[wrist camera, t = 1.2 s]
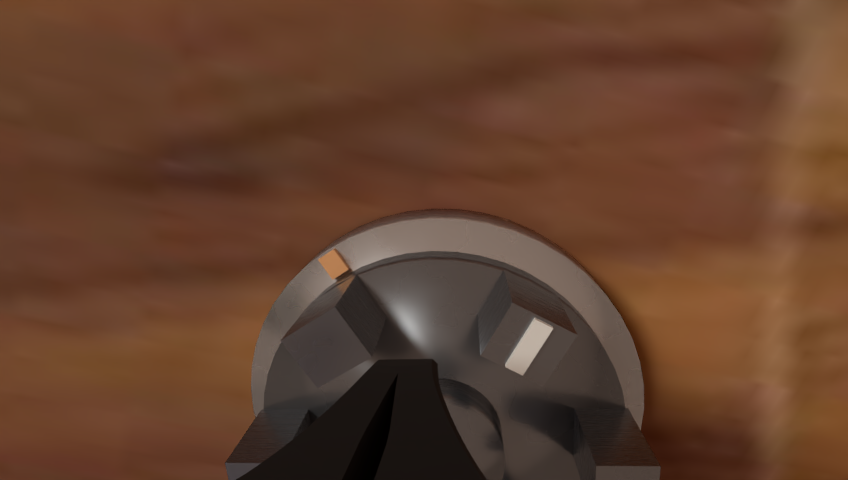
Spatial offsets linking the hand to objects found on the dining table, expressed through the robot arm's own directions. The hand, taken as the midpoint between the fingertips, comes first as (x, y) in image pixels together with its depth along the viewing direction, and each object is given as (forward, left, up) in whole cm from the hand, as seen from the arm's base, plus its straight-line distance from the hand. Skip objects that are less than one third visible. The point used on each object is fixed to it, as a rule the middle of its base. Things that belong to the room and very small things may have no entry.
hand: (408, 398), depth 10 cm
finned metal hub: (-6, -3, -8) cm, 10 cm away
